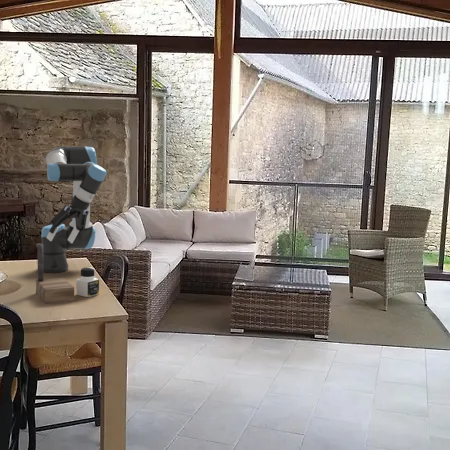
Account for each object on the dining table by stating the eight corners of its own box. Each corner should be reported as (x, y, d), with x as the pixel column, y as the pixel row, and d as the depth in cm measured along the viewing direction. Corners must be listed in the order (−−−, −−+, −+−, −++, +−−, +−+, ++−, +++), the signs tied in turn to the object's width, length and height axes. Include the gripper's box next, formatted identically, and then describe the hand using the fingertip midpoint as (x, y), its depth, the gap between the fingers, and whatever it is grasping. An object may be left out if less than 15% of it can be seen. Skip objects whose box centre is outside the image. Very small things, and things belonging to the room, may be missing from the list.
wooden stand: (35, 292, 273) (34, 243, 270) (62, 289, 279) (62, 242, 276) (45, 303, 256) (45, 251, 253) (74, 300, 262) (74, 250, 259)
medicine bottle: (87, 297, 268) (87, 270, 266) (76, 294, 272) (76, 268, 270) (99, 294, 274) (99, 267, 272) (87, 291, 278) (87, 265, 276)
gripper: (69, 199, 250) (45, 243, 253) (106, 206, 272) (83, 246, 276) (57, 190, 253) (33, 233, 256) (94, 197, 275) (72, 238, 279)
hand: (59, 240), depth 266 cm, fingers open, 13 cm apart
